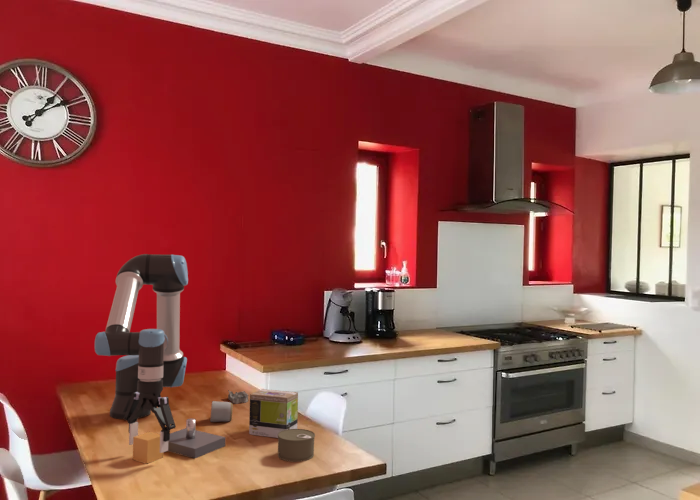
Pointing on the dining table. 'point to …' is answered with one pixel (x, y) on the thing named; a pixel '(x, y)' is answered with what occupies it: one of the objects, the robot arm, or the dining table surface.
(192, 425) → the post
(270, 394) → the tea box
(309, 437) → the can
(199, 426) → the dining table surface
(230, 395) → the egg carton
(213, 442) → the dark gray slab
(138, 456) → the orange toy cube
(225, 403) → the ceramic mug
